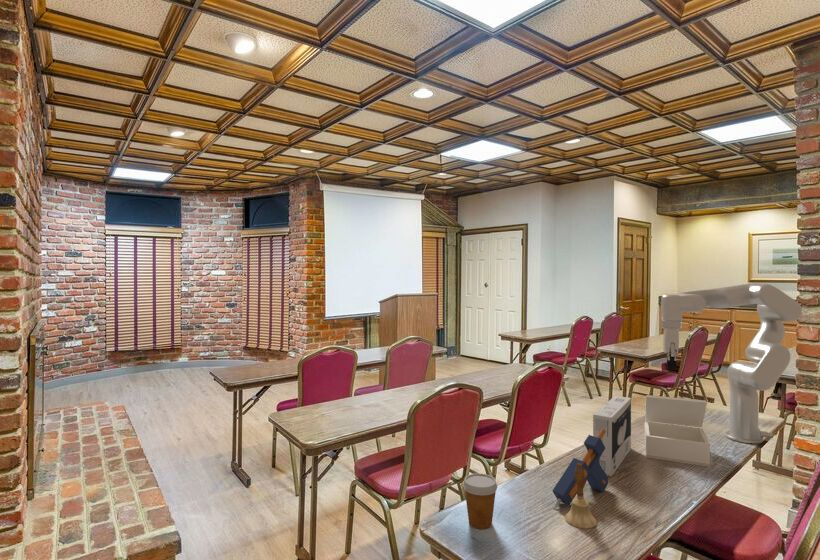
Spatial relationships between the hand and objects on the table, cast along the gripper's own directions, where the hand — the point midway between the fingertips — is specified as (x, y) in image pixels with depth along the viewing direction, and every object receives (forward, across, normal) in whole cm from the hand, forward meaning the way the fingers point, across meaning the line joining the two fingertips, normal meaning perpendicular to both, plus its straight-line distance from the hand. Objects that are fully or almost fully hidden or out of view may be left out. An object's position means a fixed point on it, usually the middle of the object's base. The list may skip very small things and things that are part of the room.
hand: (671, 369), depth 187 cm
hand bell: (+29, +80, -28) cm, 90 cm away
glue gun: (+29, +66, -29) cm, 78 cm away
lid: (+14, +12, 0) cm, 19 cm away
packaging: (+29, +31, -21) cm, 48 cm away
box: (+29, +15, 0) cm, 33 cm away
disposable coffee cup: (+29, +93, -53) cm, 111 cm away
